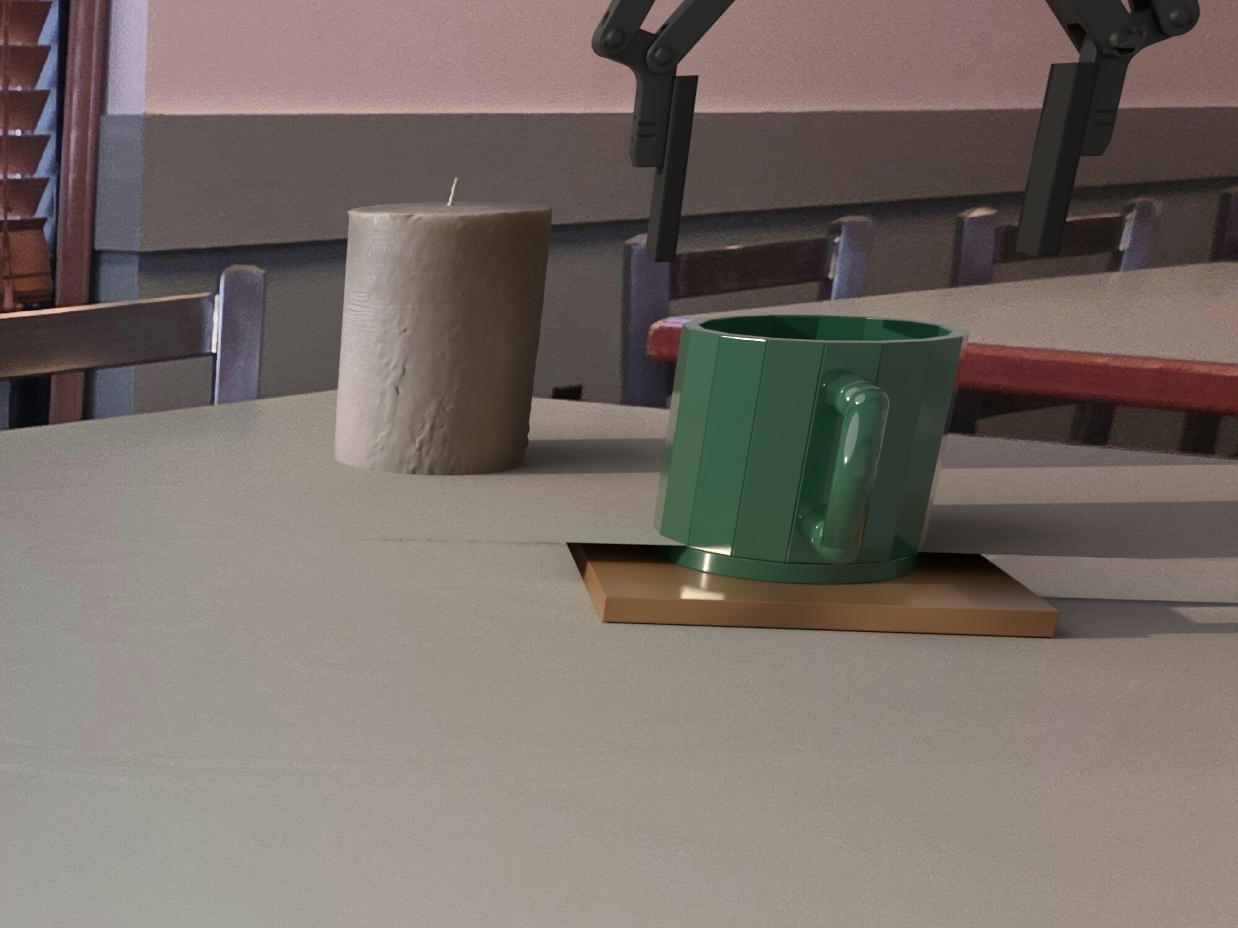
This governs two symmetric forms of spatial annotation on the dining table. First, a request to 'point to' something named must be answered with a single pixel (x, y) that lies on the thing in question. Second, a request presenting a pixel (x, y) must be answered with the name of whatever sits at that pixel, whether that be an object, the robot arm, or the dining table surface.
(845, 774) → the dining table surface
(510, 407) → the pillar candle
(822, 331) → the mug
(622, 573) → the trivet
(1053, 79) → the robot arm
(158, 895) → the dining table surface
